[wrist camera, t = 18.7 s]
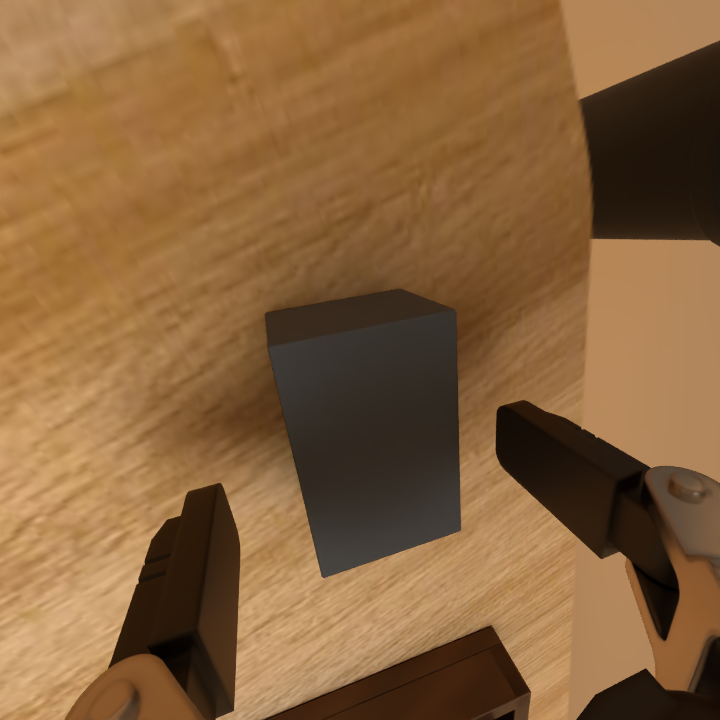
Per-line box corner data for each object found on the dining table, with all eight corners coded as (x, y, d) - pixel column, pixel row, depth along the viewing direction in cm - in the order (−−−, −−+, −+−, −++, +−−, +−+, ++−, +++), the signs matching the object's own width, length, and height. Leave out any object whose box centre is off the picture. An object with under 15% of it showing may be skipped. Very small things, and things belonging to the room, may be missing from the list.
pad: (401, 288, 13) (457, 309, 9) (415, 463, 16) (461, 531, 12) (264, 312, 12) (267, 347, 8) (306, 494, 15) (322, 579, 11)
